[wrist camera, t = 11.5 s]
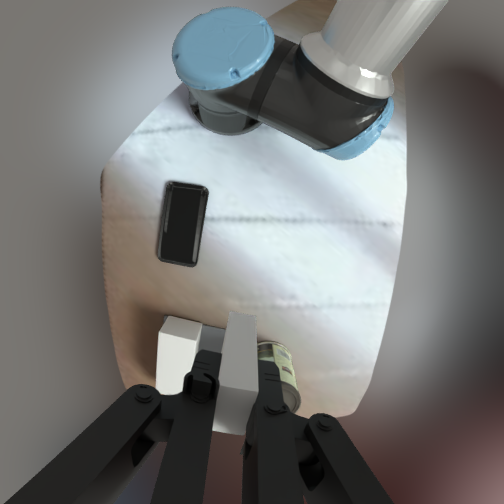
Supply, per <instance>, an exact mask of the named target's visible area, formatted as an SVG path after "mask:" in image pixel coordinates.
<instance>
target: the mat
mask: <svg viewBox="0 0 504 504" xmlns="http://www.w3.org/2000/svg"><path fill="white" fill-rule="evenodd" d="M167 318H168V316H166V315H164V323H165V321H166V319H167ZM164 323H163V324H164ZM225 332H226V329H223V328H218V327H213V326H209V325H204V324H202V329H201V336H200V342H199V348H198V352H199V351H200V350H202V349H204V350H209V351H213V352H218V353H221V352H222V347H223V342H224V337H225Z"/></svg>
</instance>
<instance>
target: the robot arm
mask: <svg viewBox="0 0 504 504" xmlns="http://www.w3.org/2000/svg"><path fill="white" fill-rule="evenodd" d="M448 1H449V0H338V1H337V3H336V5H335V7H334V9H333V10H332V12H331V14H330V16H329V18H328V20H327V22H326V23H325V25H324V27H323V29H322V30H321V31H319V32H314V33H310V34H307V35H305V36H304V37H303V38H302V39H301V42H300V44H299V45H298V44H296V43H293V42H291V41H289V40H286V39H284V38H281V37H279V36H277V35H274V32H273V30H272V28H271V27H270V26H269V25H268V23H267V21H266V20H265V19H264V18H263V17H262V16H261V15H259V14H257V13H256V12H254V11H252V10H249V9H245V8H240V7H222V8H217V9H213V10H211V11H210V12H208V13H206V14H200V15H198V16H196V17H195V18H193V19H192V20H191V21H189V22H188V23H187V24H186V25H185V26H184V27H183V28H182V29H181V31H180V32H179V33H178V35H177V37H176V39H175V41H174V44H173V48H172V59H173V63H174V66H175V68H176V72H177V75H178V77H179V78H180V79H181V81H183V82H184V84H185V85H186V86H187V88H188V89H189V90H190V91H189V103H190V108H191V110H192V113H193V114H194V116H195V117H196V119H197V120H198V121H199V122H200V123H201V124H202V125H203V126H204V127H205V128H207V129H208V130H210V131H212V132H214V133H217V134H221V135H229V136H232V135H240V134H244V133H247V132H250V131H252V130H254V129H255V128H257V127H258V126H260V125H261V124H262V123H264V124H266V125H268V126H271V127H273V128H275V129H277V130H279V131H281V132H283V133H285V134H287V135H289V136H291V137H293V138H295V139H296V140H298V141H300V142H302V143H304V144H306V145H308V146H310V147H311V148H312V149H313V150H316V151H318V152H323V153H325V154H327V155H329V156H331V157H333V158H335V159H338V160H349V159H352V158H355V157H357V156H358V155H360V154H362V153H363V152H364V151H366V150H367V149H368V148H369V147H370V146H371V145H372V144H373V143H374V142H375V141H376V140H377V139H378V138H379V137H380V135H381V130H383V129H384V128H386V126H387V125H388V123H389V121H390V119H391V117H392V114H393V110H394V103H393V99H392V98H391V95H392V93H393V92H394V84H393V80H392V76H391V72H392V71H393V70H394V69H395V67H396V66H397V65H398V64H399V62H400V61H401V60H402V59H403V57H404V56H405V55H406V53H407V52H408V51H409V50H410V48H411V47H412V46H413V45H414V43H415V42H416V41H417V40H418V38H419V37H420V36H421V35H422V33H423V32H424V31H425V30H426V28H427V27H428V26H429V24H430V23H431V22H432V21H433V19H434V18H435V17H436V15H437V14H438V13H439V12H440V11H441V9H442V8H443V7H444V6H445V4H446V3H447V2H448ZM212 430H213V431H219V432H225V433H231V434H238V435H244V434H245V431H246V438H245V441H244V444H243V447H242V449H241V453H240V454H241V455H242V454H243V473H242V504H304V499H303V495H304V497H305V499H306V502H307V503H308V504H394V503H393V501H392V500H391V498H390V497H389V496H388V494H387V493H386V491H385V490H384V488H383V487H382V485H381V484H380V483H379V481H378V480H377V478H376V477H375V475H374V474H373V472H372V471H371V469H370V468H369V466H368V465H367V464H366V462H365V461H364V459H363V458H362V456H361V455H360V453H359V452H358V450H357V449H356V447H355V446H354V444H353V443H352V441H351V440H350V438H349V437H348V435H347V434H346V432H345V431H344V429H343V428H342V426H341V425H340V423H339V422H338V421H337V420H336V418H334V417H332V416H331V415H328V414H324V413H317V414H314V415H312V416H311V417H310V418H309V419H307V418H304V417H301V416H298V415H296V414H294V413H292V412H290V409H289V407H288V405H287V404H286V403H285V402H284V399H283V392H282V385H281V378H280V371H279V368H278V366H277V365H276V364H275V362H273V361H266V360H260V359H257V330H256V316H254V315H249V314H244V313H239V312H234V311H230V313H229V318H228V322H227V327H226V332H225V337H224V342H223V347H222V352H221V353H218V352H213V351H209V350H204V349H202V350H200V351H199V352H198V353H197V354H196V356H195V359H194V362H193V365H192V369H191V371H190V372H188V373H187V374H186V375H185V376H184V381H183V390H182V392H180V393H178V394H174V395H161V394H160V393H159V391H158V390H157V389H155V388H154V387H152V386H149V385H145V384H138V385H134V386H132V387H130V388H129V389H128V390H127V391H126V392H125V393H123V394H122V395H121V396H120V397H119V398H118V399H117V400H116V401H115V402H114V403H113V404H112V405H111V406H110V407H109V408H108V409H107V410H106V411H105V412H103V413H102V414H101V415H100V416H99V417H98V418H97V419H96V420H95V421H94V422H93V423H92V424H91V425H90V426H89V427H87V428H86V429H85V430H84V431H83V432H82V433H81V434H80V435H79V436H78V437H77V438H76V439H75V440H74V441H73V442H71V443H70V444H69V445H68V446H67V447H66V448H65V449H64V450H63V451H62V452H60V453H59V454H58V455H57V456H56V457H55V458H54V459H53V460H52V461H51V462H50V463H49V464H47V465H46V466H45V467H44V468H43V469H42V470H41V471H40V472H39V473H38V474H37V475H35V476H34V477H33V478H32V479H31V480H30V481H29V482H28V483H27V484H25V485H24V486H23V487H22V488H21V489H20V490H19V491H18V492H16V493H15V494H14V495H13V496H12V497H11V498H10V499H9V500H8V501H6V502H5V503H4V504H113V503H114V502H115V501H116V500H117V498H118V497H119V496H120V494H121V493H122V492H123V490H124V489H125V488H126V486H127V485H128V484H129V483H130V481H131V480H132V479H133V477H134V476H135V475H136V473H137V472H138V471H139V469H140V468H141V467H142V465H143V464H144V463H145V461H146V460H147V459H148V457H149V456H150V455H151V453H152V452H153V451H154V449H155V448H156V447H157V445H158V443H159V442H160V441H161V442H165V441H166V442H167V446H166V449H165V452H164V456H163V459H162V463H161V467H160V470H159V474H158V478H157V481H156V484H155V488H154V492H153V496H152V499H151V503H150V504H202V502H203V494H204V487H205V480H206V472H207V465H208V457H209V449H210V443H211V436H212Z"/></svg>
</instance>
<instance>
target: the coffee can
mask: <svg viewBox="0 0 504 504" xmlns="http://www.w3.org/2000/svg"><path fill="white" fill-rule="evenodd" d="M257 359H260V360H266V361H273V362H275V364H276V365H277V366H278V368H279V371H280V378H281V385H282V392H283V399H284V402H285V403H286V404H287V405H288V407H289V409H290V412H292V413H294V414H295V413H296V412H297V411H298V409H299V408H300V405H301V397H300V394H299V392H298V387H297V382H296V378H295V373H294V369H293V364H292V360H291V354H290V352H289V350H288V349H287V348H286V347H285V346H283V345H281V344H279V343H276V342H261V343H258V344H257Z"/></svg>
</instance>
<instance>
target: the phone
mask: <svg viewBox="0 0 504 504" xmlns="http://www.w3.org/2000/svg"><path fill="white" fill-rule="evenodd" d="M208 195H209V191H208V189H207V188H206V187H203V186H197V185H191V184H184V183H177V182H171V183H169V184H168V185H167V188H166V195H165V201H164V208H163V215H162V223H161V230H160V239H159V247H158V259H159V260H160V261H162V262H166V263H171V264H176V265H182V266H187V267H194V266H196V264H197V263H198V257H199V250H200V244H201V237H202V231H203V224H204V218H205V212H206V206H207V200H208Z"/></svg>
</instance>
